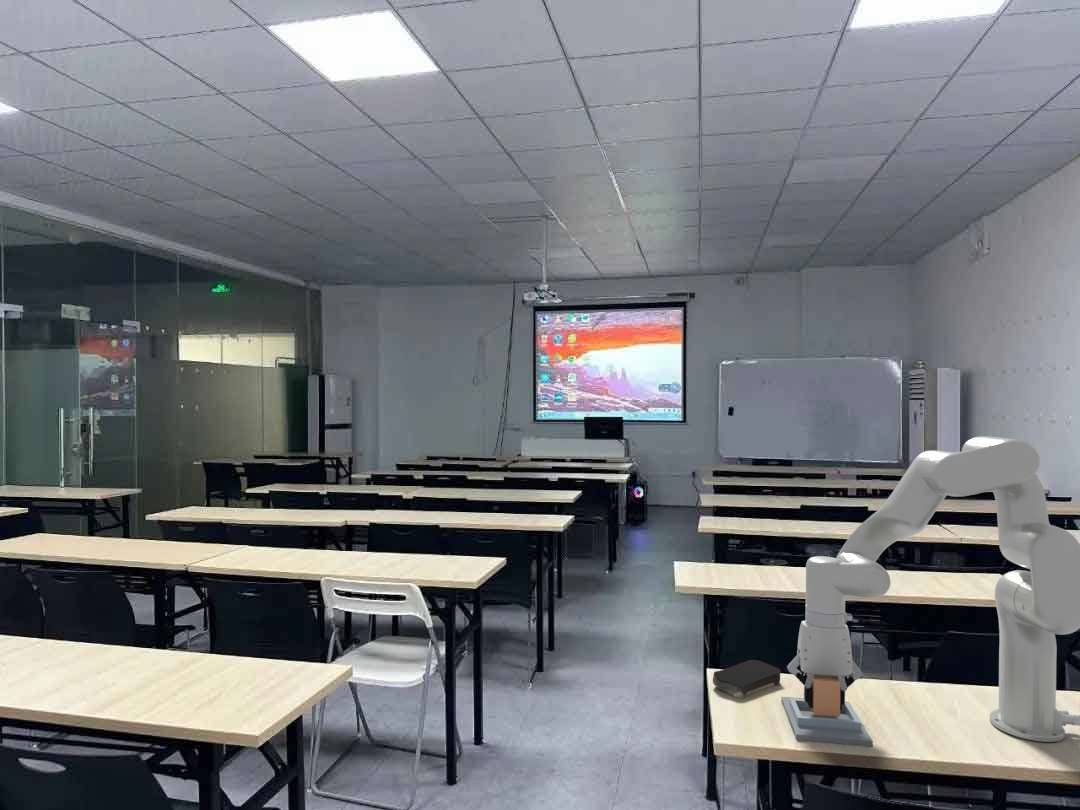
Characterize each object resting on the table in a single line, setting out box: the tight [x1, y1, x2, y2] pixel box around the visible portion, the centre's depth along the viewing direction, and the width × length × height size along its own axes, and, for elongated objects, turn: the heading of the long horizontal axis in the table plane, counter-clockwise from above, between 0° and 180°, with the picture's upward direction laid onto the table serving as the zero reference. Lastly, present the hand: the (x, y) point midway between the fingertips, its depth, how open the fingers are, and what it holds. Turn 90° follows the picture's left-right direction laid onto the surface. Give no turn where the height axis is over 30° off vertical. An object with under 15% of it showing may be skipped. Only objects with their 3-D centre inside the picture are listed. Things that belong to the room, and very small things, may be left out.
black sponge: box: [712, 659, 781, 699], centre depth 164 cm, size 16×8×4 cm, turn 125°
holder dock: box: [780, 696, 874, 747], centre depth 145 cm, size 14×18×2 cm
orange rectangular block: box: [811, 675, 840, 717], centre depth 145 cm, size 5×5×7 cm
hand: (824, 705), depth 145 cm, fingers closed on orange rectangular block, 4 cm apart
